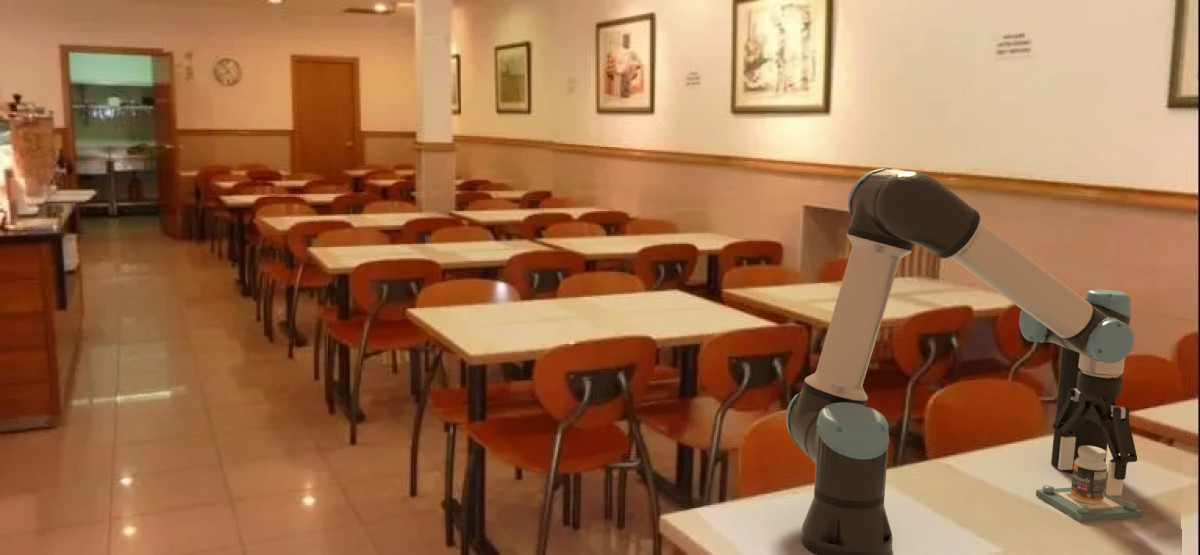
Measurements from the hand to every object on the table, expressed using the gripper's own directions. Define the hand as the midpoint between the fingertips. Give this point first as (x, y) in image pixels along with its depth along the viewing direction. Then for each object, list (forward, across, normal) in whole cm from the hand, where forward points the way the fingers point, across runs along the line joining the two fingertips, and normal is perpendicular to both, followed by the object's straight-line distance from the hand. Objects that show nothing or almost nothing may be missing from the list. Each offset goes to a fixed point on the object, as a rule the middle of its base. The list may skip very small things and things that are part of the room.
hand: (1088, 481), depth 187 cm
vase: (+5, +20, -13) cm, 24 cm away
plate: (+5, 0, 0) cm, 5 cm away
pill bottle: (+4, 0, 0) cm, 4 cm away
